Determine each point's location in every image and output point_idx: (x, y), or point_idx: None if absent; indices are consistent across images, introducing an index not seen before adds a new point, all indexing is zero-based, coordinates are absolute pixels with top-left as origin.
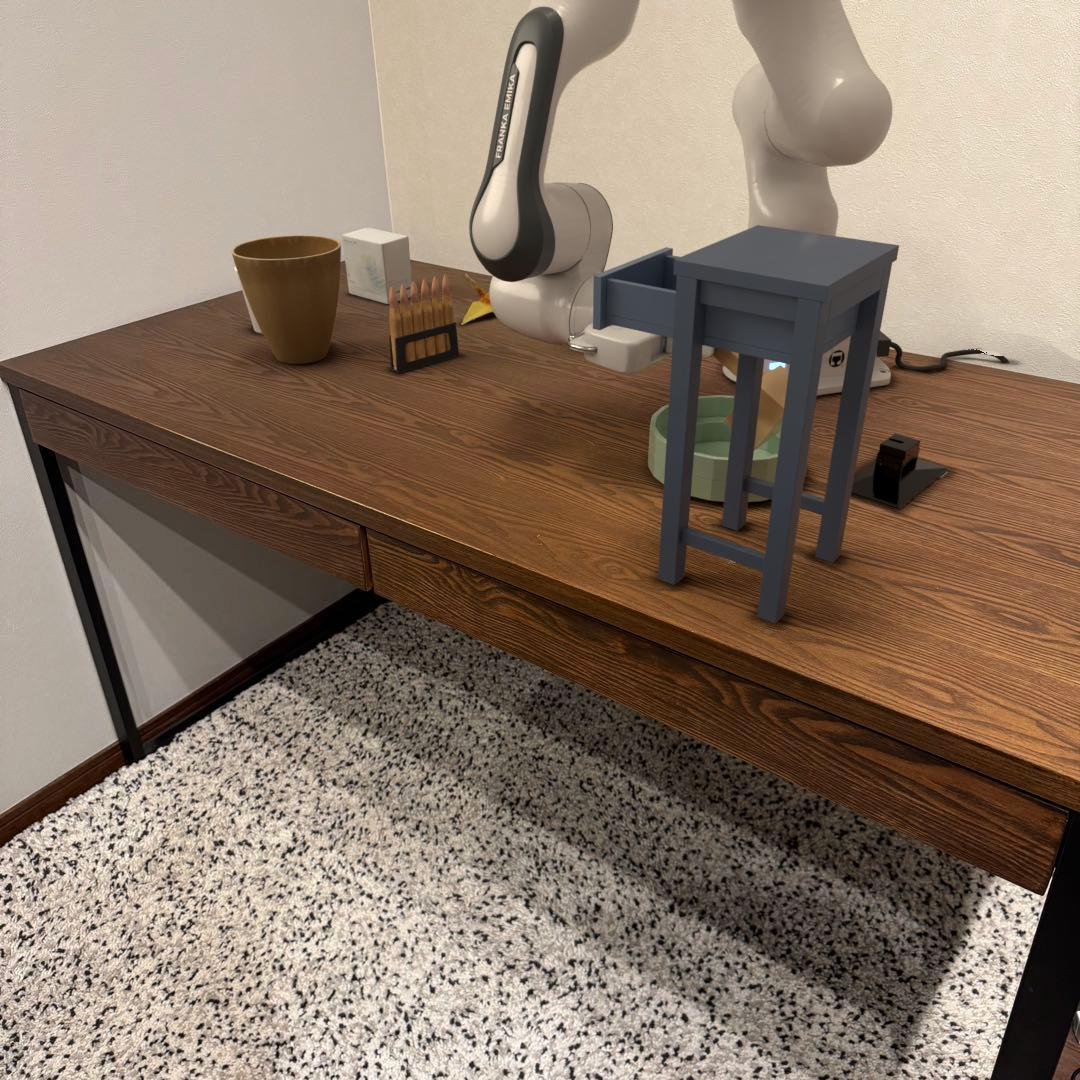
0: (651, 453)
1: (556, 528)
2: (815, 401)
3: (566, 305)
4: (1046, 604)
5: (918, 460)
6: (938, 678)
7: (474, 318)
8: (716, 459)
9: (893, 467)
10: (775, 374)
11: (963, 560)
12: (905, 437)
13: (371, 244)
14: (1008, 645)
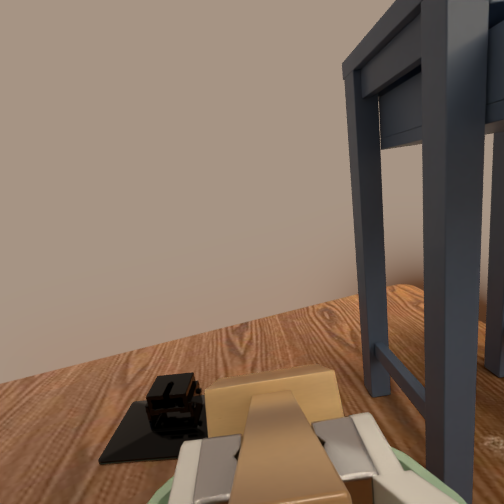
0: None
1: None
2: (493, 161)
3: None
4: (299, 314)
5: (124, 423)
6: (413, 310)
7: None
8: (455, 493)
9: (198, 396)
10: (253, 380)
11: (288, 343)
12: (154, 386)
13: None
14: (352, 309)
